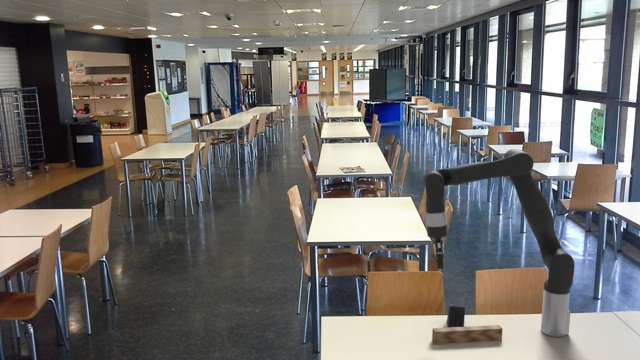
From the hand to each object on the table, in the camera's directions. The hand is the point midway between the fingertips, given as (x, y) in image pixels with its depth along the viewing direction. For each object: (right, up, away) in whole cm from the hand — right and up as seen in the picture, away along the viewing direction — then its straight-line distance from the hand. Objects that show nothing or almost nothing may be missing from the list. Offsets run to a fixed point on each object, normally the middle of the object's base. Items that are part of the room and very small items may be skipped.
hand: (439, 265), depth 208 cm
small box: (+9, -26, +12) cm, 30 cm away
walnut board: (+10, -28, -1) cm, 30 cm away
